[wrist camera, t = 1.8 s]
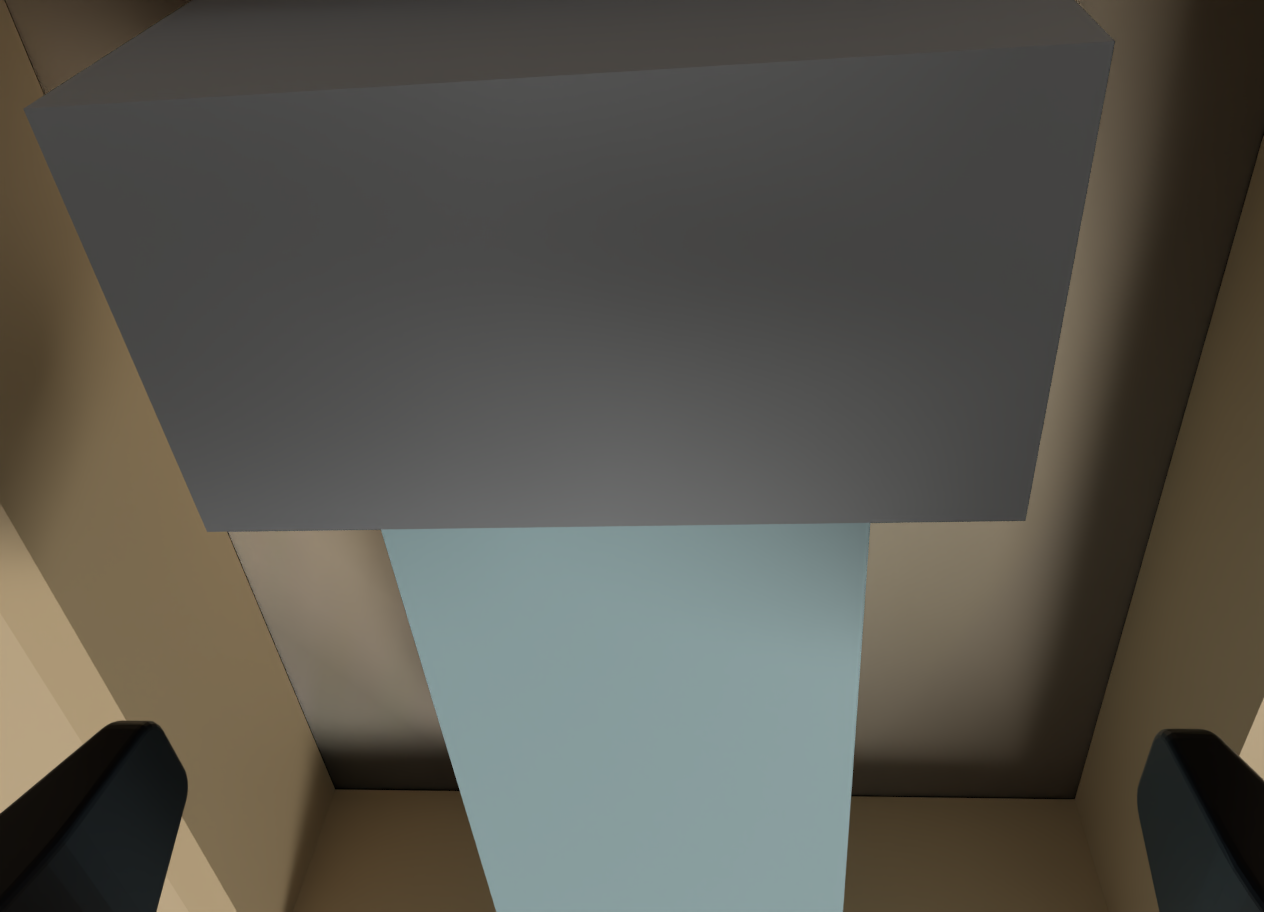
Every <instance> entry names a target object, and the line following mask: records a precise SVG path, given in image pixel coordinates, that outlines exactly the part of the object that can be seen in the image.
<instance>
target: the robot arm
mask: <svg viewBox="0 0 1264 912" xmlns="http://www.w3.org/2000/svg"><path fill="white" fill-rule="evenodd" d="M187 794H188V779H187V774H186V771H185V769H184V767H183V765H182V763H181V761H180V760H179V758H178V756H177V754H176V752H175V751H174V749H173V747H172V745H171V743H170V741H169V740H168V738H167V736H166V734H165V732H164V731H163V729H162V728H161V726H160V725H158V724H157V723H155V722H153V721H132V720H121V721H115V722H112V723H110V724H108V725H106V726H105V727H103V728H102V729H101V730H99V731H98V732H97V733H96V734H95V735H93V736H92V737H91V738H90V739H89V740H87V741H86V742H85V743H84V744H83V745H81V746H80V747H79V748H78V749H77V750H75V751H74V752H73V753H72V754H71V755H69V756H68V757H67V758H66V759H65V760H63V761H62V762H61V763H60V764H59V765H57V766H56V767H55V768H54V769H53V770H52V771H50V772H49V773H48V774H47V775H46V776H44V777H43V778H42V779H41V780H40V781H38V782H37V783H36V784H35V785H34V786H32V787H31V788H30V789H29V790H28V791H26V792H25V793H24V794H23V795H22V796H20V797H19V798H18V799H17V800H16V801H14V802H13V803H12V804H11V805H10V806H8V807H7V808H6V809H5V810H4V811H2V812H1V813H0V912H157V908H158V904H159V900H160V897H161V893H162V889H163V886H164V882H165V878H166V874H167V871H168V867H169V863H170V859H171V856H172V852H173V848H174V845H175V841H176V837H177V833H178V830H179V826H180V822H181V818H182V815H183V811H184V807H185V804H186V799H187ZM1137 809H1138V815H1139V820H1140V825H1141V829H1142V834H1143V839H1144V843H1145V848H1146V853H1147V857H1148V862H1149V867H1150V871H1151V876H1152V881H1153V885H1154V890H1155V895H1156V899H1157V904H1158V909H1159V912H1264V779H1263V778H1261V777H1260V776H1259V775H1258V774H1257V773H1256V772H1255V771H1254V770H1253V769H1252V768H1251V767H1250V766H1249V765H1248V764H1247V763H1246V762H1245V761H1244V760H1243V759H1242V758H1241V757H1240V756H1239V755H1238V754H1237V753H1236V752H1235V751H1234V750H1233V749H1231V748H1230V747H1229V746H1228V745H1227V744H1226V743H1225V742H1224V741H1223V740H1222V739H1221V738H1220V737H1219V736H1217V735H1216V734H1214V733H1213V732H1211V731H1208V730H1204V729H1162V730H1161V731H1159V732H1158V733H1157V734H1156V736H1155V737H1154V739H1153V742H1152V745H1151V748H1150V751H1149V754H1148V757H1147V760H1146V763H1145V766H1144V769H1143V772H1142V775H1141V778H1140V781H1139V784H1138V788H1137Z"/></svg>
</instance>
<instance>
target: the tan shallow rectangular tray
mask: <svg viewBox="0 0 1264 912" xmlns="http://www.w3.org/2000/svg"><path fill="white" fill-rule="evenodd" d="M42 96H44V94H43V92H42V89H41V87H40V84H39V82H38V80H37V77H36V75H35V72H34V70H33V68H32V65H31V63H30V61H29V58H28V56H27V53H26V51H25V49H24V46H23V44H22V41H21V39H20V37H19V34H18V32H17V30H16V27H15V25H14V22H13V20H12V18H11V15H10V13H9V10H8V8H7V6H6V3H5V1H4V0H0V813H1V812H2V811H4V810H5V809H6V808H7V807H8V806H10V805H11V804H12V803H13V802H14V801H16V800H17V799H18V798H19V797H20V796H22V795H23V794H24V793H25V792H26V791H28V790H29V789H30V788H31V787H32V786H34V785H35V784H36V783H37V782H38V781H40V780H41V779H42V778H43V777H44V776H46V775H47V774H48V773H49V772H50V771H52V770H53V769H54V768H55V767H56V766H57V765H59V764H60V763H61V762H62V761H63V760H65V759H66V758H67V757H68V756H69V755H71V754H72V753H73V752H74V751H75V750H77V749H78V748H79V747H80V746H81V745H83V744H84V743H85V742H86V741H87V740H89V739H90V738H91V737H92V736H93V735H95V734H96V733H97V732H98V731H99V730H101V729H102V728H103V727H105V726H106V725H108V724H110V723H112V722H115V721H121V720H132V721H153V722H155V723H157V724H158V725H160V726H161V728H162V729H163V731H164V732H165V734H166V736H167V738H168V740H169V741H170V743H171V745H172V747H173V749H174V751H175V752H176V754H177V756H178V758H179V760H180V761H181V763H182V765H183V767H184V769H185V771H186V774H187V779H188V794H187V799H186V804H185V807H184V811H183V815H182V818H181V822H180V826H179V830H178V833H177V837H176V841H175V845H174V848H173V852H172V856H171V859H170V863H169V867H168V871H167V874H166V878H165V882H164V886H163V889H162V893H161V897H160V900H159V904H158V908H157V912H496V909H495V906H494V903H493V899H492V896H491V893H490V889H489V886H488V883H487V879H486V876H485V873H484V869H483V866H482V863H481V859H480V856H479V853H478V849H477V846H476V843H475V840H474V836H473V833H472V830H471V826H470V823H469V820H468V816H467V813H466V810H465V806H464V803H463V800H462V796H461V793H460V791H410V790H336V789H335V788H334V786H333V783H332V781H331V778H330V776H329V774H328V771H327V769H326V767H325V764H324V762H323V759H322V757H321V755H320V752H319V750H318V747H317V745H316V743H315V740H314V738H313V736H312V733H311V731H310V728H309V726H308V724H307V721H306V719H305V716H304V714H303V712H302V709H301V707H300V705H299V702H298V700H297V697H296V695H295V693H294V690H293V688H292V685H291V683H290V681H289V678H288V676H287V674H286V671H285V669H284V666H283V664H282V662H281V659H280V657H279V654H278V652H277V650H276V647H275V645H274V643H273V640H272V638H271V635H270V633H269V631H268V628H267V626H266V623H265V621H264V619H263V616H262V614H261V612H260V609H259V607H258V604H257V602H256V600H255V597H254V595H253V592H252V590H251V588H250V585H249V583H248V581H247V578H246V576H245V573H244V571H243V569H242V566H241V564H240V561H239V559H238V557H237V554H236V552H235V550H234V547H233V545H232V542H231V540H230V538H229V535H228V533H227V532H207V531H206V528H205V526H204V524H203V521H202V519H201V517H200V514H199V512H198V510H197V508H196V505H195V503H194V501H193V498H192V496H191V494H190V491H189V489H188V487H187V485H186V482H185V480H184V478H183V475H182V473H181V471H180V468H179V466H178V464H177V461H176V459H175V457H174V455H173V452H172V450H171V448H170V445H169V443H168V441H167V438H166V436H165V434H164V432H163V429H162V427H161V425H160V422H159V420H158V418H157V415H156V413H155V411H154V409H153V406H152V404H151V402H150V399H149V397H148V395H147V392H146V390H145V388H144V386H143V383H142V381H141V379H140V376H139V374H138V372H137V369H136V367H135V365H134V363H133V360H132V358H131V356H130V353H129V351H128V349H127V346H126V344H125V342H124V340H123V337H122V335H121V333H120V330H119V328H118V326H117V323H116V321H115V319H114V317H113V314H112V312H111V310H110V307H109V305H108V303H107V300H106V298H105V296H104V294H103V291H102V289H101V287H100V284H99V282H98V280H97V277H96V275H95V273H94V271H93V268H92V266H91V264H90V261H89V259H88V257H87V254H86V252H85V250H84V248H83V245H82V243H81V241H80V238H79V236H78V234H77V231H76V229H75V227H74V225H73V222H72V220H71V218H70V215H69V213H68V211H67V208H66V206H65V204H64V202H63V199H62V197H61V195H60V192H59V190H58V188H57V185H56V183H55V181H54V179H53V176H52V174H51V172H50V169H49V167H48V165H47V162H46V160H45V158H44V156H43V153H42V151H41V149H40V146H39V144H38V142H37V139H36V137H35V135H34V133H33V130H32V128H31V126H30V123H29V121H28V119H27V116H26V114H25V112H24V110H23V109H24V108H25V107H27V106H28V105H30V104H31V103H33V102H34V101H36V100H38V99H39V98H41V97H42ZM1162 729H1204V730H1208V731H1211V732H1213V733H1214V734H1216V735H1217V736H1219V737H1220V738H1221V739H1222V740H1223V741H1224V742H1225V743H1226V744H1227V745H1228V746H1229V747H1230V748H1231V749H1233V750H1234V751H1235V752H1236V753H1237V754H1238V755H1239V756H1240V757H1241V758H1242V759H1243V760H1244V761H1245V762H1246V763H1247V764H1248V765H1249V766H1250V767H1251V768H1252V769H1253V770H1254V771H1255V772H1256V773H1257V774H1258V775H1259V776H1260V777H1261V778H1263V779H1264V136H1263V139H1262V143H1261V146H1260V150H1259V153H1258V157H1257V160H1256V164H1255V167H1254V171H1253V174H1252V178H1251V181H1250V185H1249V188H1248V192H1247V196H1246V199H1245V203H1244V206H1243V210H1242V213H1241V217H1240V220H1239V224H1238V227H1237V231H1236V234H1235V238H1234V241H1233V245H1232V248H1231V252H1230V255H1229V259H1228V262H1227V266H1226V269H1225V273H1224V276H1223V280H1222V284H1221V287H1220V291H1219V294H1218V298H1217V301H1216V305H1215V308H1214V312H1213V315H1212V319H1211V322H1210V326H1209V329H1208V333H1207V336H1206V340H1205V343H1204V347H1203V350H1202V354H1201V357H1200V361H1199V364H1198V368H1197V372H1196V375H1195V379H1194V382H1193V386H1192V389H1191V393H1190V396H1189V400H1188V403H1187V407H1186V410H1185V414H1184V417H1183V421H1182V424H1181V428H1180V431H1179V435H1178V438H1177V442H1176V445H1175V449H1174V452H1173V456H1172V459H1171V463H1170V467H1169V470H1168V474H1167V477H1166V481H1165V484H1164V488H1163V491H1162V495H1161V498H1160V502H1159V505H1158V509H1157V512H1156V516H1155V519H1154V523H1153V526H1152V530H1151V533H1150V537H1149V540H1148V544H1147V547H1146V551H1145V555H1144V558H1143V562H1142V565H1141V569H1140V572H1139V576H1138V579H1137V583H1136V586H1135V590H1134V593H1133V597H1132V600H1131V604H1130V607H1129V611H1128V614H1127V618H1126V621H1125V625H1124V628H1123V632H1122V635H1121V639H1120V643H1119V646H1118V650H1117V653H1116V657H1115V660H1114V664H1113V667H1112V671H1111V674H1110V678H1109V681H1108V685H1107V688H1106V692H1105V695H1104V699H1103V702H1102V706H1101V709H1100V713H1099V716H1098V720H1097V723H1096V727H1095V730H1094V734H1093V738H1092V741H1091V745H1090V748H1089V752H1088V755H1087V759H1086V762H1085V766H1084V769H1083V773H1082V776H1081V780H1080V783H1079V787H1078V790H1077V794H1076V797H1075V800H1073V799H999V798H925V797H852V796H851V804H850V819H849V833H848V847H847V861H846V876H845V890H844V904H843V912H1159V909H1158V904H1157V899H1156V895H1155V890H1154V885H1153V881H1152V876H1151V871H1150V867H1149V862H1148V857H1147V853H1146V848H1145V843H1144V839H1143V834H1142V829H1141V825H1140V820H1139V815H1138V809H1137V788H1138V784H1139V781H1140V778H1141V775H1142V772H1143V769H1144V766H1145V763H1146V760H1147V757H1148V754H1149V751H1150V748H1151V745H1152V742H1153V739H1154V737H1155V736H1156V734H1157V733H1158V732H1159V731H1161V730H1162Z"/></svg>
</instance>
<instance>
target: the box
mask: <svg viewBox="0 0 1264 912" xmlns="http://www.w3.org/2000/svg"><path fill="white" fill-rule="evenodd" d="M1114 44H1115V41H1114V40H1113V39H1112V38H1111V37H1110V36H1109V35H1108V34H1107V33H1106V32H1105V31H1104V30H1103V29H1102V28H1101V27H1100V26H1099V25H1098V24H1097V23H1096V22H1095V20H1094V19H1093V18H1092V17H1091V16H1090V15H1089V14H1088V13H1087V12H1086V11H1085V10H1084V9H1083V8H1082V7H1081V6H1080V5H1079V4H1078V3H1077V2H1076V1H1075V0H192V1H190V2H189V3H187V4H186V5H184V6H183V7H181V8H179V9H178V10H176V11H175V12H173V13H172V14H170V15H168V16H167V17H165V18H164V19H162V20H161V21H159V22H158V23H156V24H154V25H153V26H151V27H150V28H148V29H147V30H145V31H144V32H142V33H140V34H139V35H137V36H136V37H134V38H133V39H131V40H130V41H128V42H126V43H125V44H123V45H122V46H120V47H119V48H117V49H116V50H114V51H112V52H111V53H109V54H108V55H106V56H105V57H103V58H101V59H100V60H98V61H97V62H95V63H94V64H92V65H91V66H89V67H87V68H86V69H84V70H83V71H81V72H80V73H78V74H77V75H75V76H73V77H72V78H70V79H69V80H67V81H66V82H64V83H63V84H61V85H59V86H58V87H56V88H55V89H53V90H52V91H50V92H49V93H47V94H45V95H44V96H42V97H41V98H39V99H38V100H36V101H34V102H33V103H31V104H30V105H28V106H27V107H25V108H24V109H23V110H24V112H25V114H26V116H27V119H28V121H29V123H30V126H31V128H32V130H33V133H34V135H35V137H36V139H37V142H38V144H39V146H40V149H41V151H42V153H43V156H44V158H45V160H46V162H47V165H48V167H49V169H50V172H51V174H52V176H53V179H54V181H55V183H56V185H57V188H58V190H59V192H60V195H61V197H62V199H63V202H64V204H65V206H66V208H67V211H68V213H69V215H70V218H71V220H72V222H73V225H74V227H75V229H76V231H77V234H78V236H79V238H80V241H81V243H82V245H83V248H84V250H85V252H86V254H87V257H88V259H89V261H90V264H91V266H92V268H93V271H94V273H95V275H96V277H97V280H98V282H99V284H100V287H101V289H102V291H103V294H104V296H105V298H106V300H107V303H108V305H109V307H110V310H111V312H112V314H113V317H114V319H115V321H116V323H117V326H118V328H119V330H120V333H121V335H122V337H123V340H124V342H125V344H126V346H127V349H128V351H129V353H130V356H131V358H132V360H133V363H134V365H135V367H136V369H137V372H138V374H139V376H140V379H141V381H142V383H143V386H144V388H145V390H146V392H147V395H148V397H149V399H150V402H151V404H152V406H153V409H154V411H155V413H156V415H157V418H158V420H159V422H160V425H161V427H162V429H163V432H164V434H165V436H166V438H167V441H168V443H169V445H170V448H171V450H172V452H173V455H174V457H175V459H176V461H177V464H178V466H179V468H180V471H181V473H182V475H183V478H184V480H185V482H186V485H187V487H188V489H189V491H190V494H191V496H192V498H193V501H194V503H195V505H196V508H197V510H198V512H199V514H200V517H201V519H202V521H203V524H204V526H205V528H206V531H207V532H239V531H312V530H381V531H382V535H383V538H384V541H385V545H386V548H387V551H388V554H389V558H390V561H391V564H392V568H393V571H394V574H395V578H396V581H397V584H398V588H399V591H400V594H401V598H402V601H403V604H404V607H405V611H406V614H407V617H408V621H409V624H410V627H411V631H412V634H413V637H414V641H415V644H416V647H417V651H418V654H419V657H420V661H421V664H422V667H423V670H424V674H425V677H426V680H427V684H428V687H429V690H430V694H431V697H432V700H433V704H434V707H435V710H436V714H437V717H438V720H439V724H440V727H441V730H442V733H443V737H444V740H445V743H446V747H447V750H448V753H449V757H450V760H451V763H452V767H453V770H454V773H455V777H456V780H457V783H458V786H459V790H460V793H461V796H462V800H463V803H464V806H465V810H466V813H467V816H468V820H469V823H470V826H471V830H472V833H473V836H474V840H475V843H476V846H477V849H478V853H479V856H480V859H481V863H482V866H483V869H484V873H485V876H486V879H487V883H488V886H489V889H490V893H491V896H492V899H493V903H494V906H495V909H496V912H843V904H844V890H845V876H846V861H847V847H848V833H849V819H850V804H851V790H852V776H853V761H854V747H855V733H856V718H857V704H858V690H859V676H860V661H861V647H862V633H863V618H864V604H865V590H866V576H867V561H868V547H869V533H870V523H898V522H971V521H1025V520H1026V514H1027V509H1028V504H1029V498H1030V493H1031V488H1032V482H1033V477H1034V472H1035V466H1036V461H1037V456H1038V450H1039V445H1040V440H1041V434H1042V429H1043V424H1044V418H1045V413H1046V408H1047V402H1048V397H1049V391H1050V386H1051V381H1052V375H1053V370H1054V365H1055V359H1056V354H1057V349H1058V343H1059V338H1060V333H1061V327H1062V322H1063V317H1064V311H1065V306H1066V301H1067V295H1068V290H1069V285H1070V279H1071V274H1072V268H1073V263H1074V258H1075V252H1076V247H1077V242H1078V236H1079V231H1080V226H1081V220H1082V215H1083V210H1084V204H1085V199H1086V194H1087V188H1088V183H1089V178H1090V172H1091V167H1092V162H1093V156H1094V151H1095V146H1096V140H1097V135H1098V129H1099V124H1100V119H1101V113H1102V108H1103V103H1104V97H1105V92H1106V87H1107V81H1108V76H1109V71H1110V65H1111V60H1112V55H1113V49H1114Z"/></svg>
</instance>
